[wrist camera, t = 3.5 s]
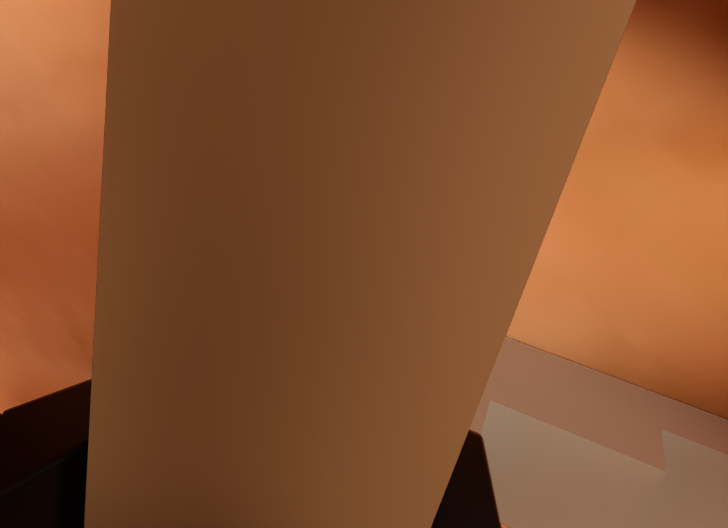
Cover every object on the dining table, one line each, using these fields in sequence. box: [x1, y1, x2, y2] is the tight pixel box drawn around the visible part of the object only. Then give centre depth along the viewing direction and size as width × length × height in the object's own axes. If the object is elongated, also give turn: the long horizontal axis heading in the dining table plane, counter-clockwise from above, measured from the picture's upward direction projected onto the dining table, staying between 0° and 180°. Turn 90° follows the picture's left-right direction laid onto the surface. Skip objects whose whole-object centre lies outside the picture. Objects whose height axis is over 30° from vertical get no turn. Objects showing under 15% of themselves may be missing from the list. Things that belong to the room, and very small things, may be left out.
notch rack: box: [470, 337, 728, 528], centre depth 20 cm, size 18×6×6 cm, turn 81°
